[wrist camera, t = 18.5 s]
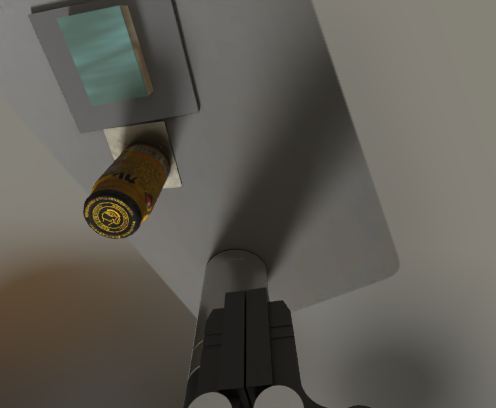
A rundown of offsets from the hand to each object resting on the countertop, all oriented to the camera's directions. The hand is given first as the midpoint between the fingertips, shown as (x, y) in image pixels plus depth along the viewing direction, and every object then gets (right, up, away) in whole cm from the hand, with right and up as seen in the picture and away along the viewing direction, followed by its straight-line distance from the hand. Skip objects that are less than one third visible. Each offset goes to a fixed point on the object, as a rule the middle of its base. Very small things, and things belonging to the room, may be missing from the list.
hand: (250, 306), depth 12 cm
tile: (-15, +22, +19) cm, 32 cm away
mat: (-13, +18, +23) cm, 32 cm away
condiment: (-13, +9, +28) cm, 33 cm away
